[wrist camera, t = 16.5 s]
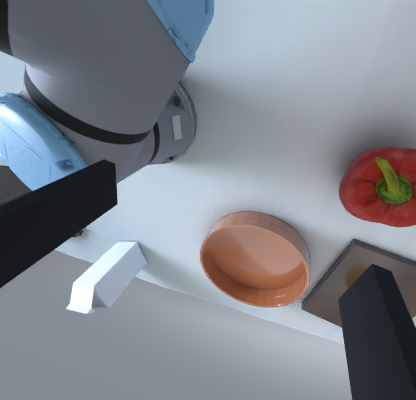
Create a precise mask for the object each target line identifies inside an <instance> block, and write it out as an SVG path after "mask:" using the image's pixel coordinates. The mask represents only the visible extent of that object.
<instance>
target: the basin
mask: <svg viewBox="0 0 416 400" xmlns="http://www.w3.org/2000/svg"><path fill="white" fill-rule="evenodd" d="M200 261H201V264H202V268H203V270H204V271H205V273H206V275H207V277H208V278H209V279H210V280H211V282H212V283H213V284H214V285H215V286H216V287H217V288H218V289H220V290H221V291H222V292H224V293H225V294H227V295H228V296H230V297H232V298H234V299H236V300H238V301H240V302H243V303H246V304H249V305H253V306H259V307H280V306H285V305H288V304H290V303H293V302H295V301H296V300H298V299H299V298H300V297H302V295H303V294H304V293H305V292H306V290H307V288H308V285H309V282H310V261H309V253H308V249H307V247H306V244H305V242H304V241H303V239H302V238H301V236H300V235H299V234H298V233H297V232H296V231H295V230H294V229H293V228H292V227H291V226H289V225H288V224H287V223H285V222H283V221H282V220H280V219H278V218H275V217H273V216H270V215H267V214H264V213H259V212H251V211H245V212H236V213H232V214H229V215H227V216H224V217H223V218H221V219H220V220H218V221H217V222H216V223H215V224H214V225H213V227H212V228H211V230H210V231H209V233H208V235H207V237H206V238H205V240H204V242H203V243H202V246H201V250H200Z"/></svg>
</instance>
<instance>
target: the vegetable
mask: <svg viewBox="0 0 416 400" xmlns="http://www.w3.org/2000/svg"><path fill="white" fill-rule="evenodd" d="M339 196H340V200H341V202H342V204H343V206H344V207H345V209H346V210H347V211H348V212H349V213H351V214H352V215H354V216H355V217H357V218H360V219H362V220H366V221H370V222H377V223H382V224H386V225H389V226H394V227H409V226H413V225H416V149H401V148H394V147H387V148H376V149H371V150H367V151H365V152H363V153H361V154H359V155H357V157H356V158H355V160H354V161H353V163H352V165H351V167H350V169H349V171H348V172H347V173H346V175H345V176H344V177H343V179H342V181H341V183H340V188H339Z"/></svg>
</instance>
